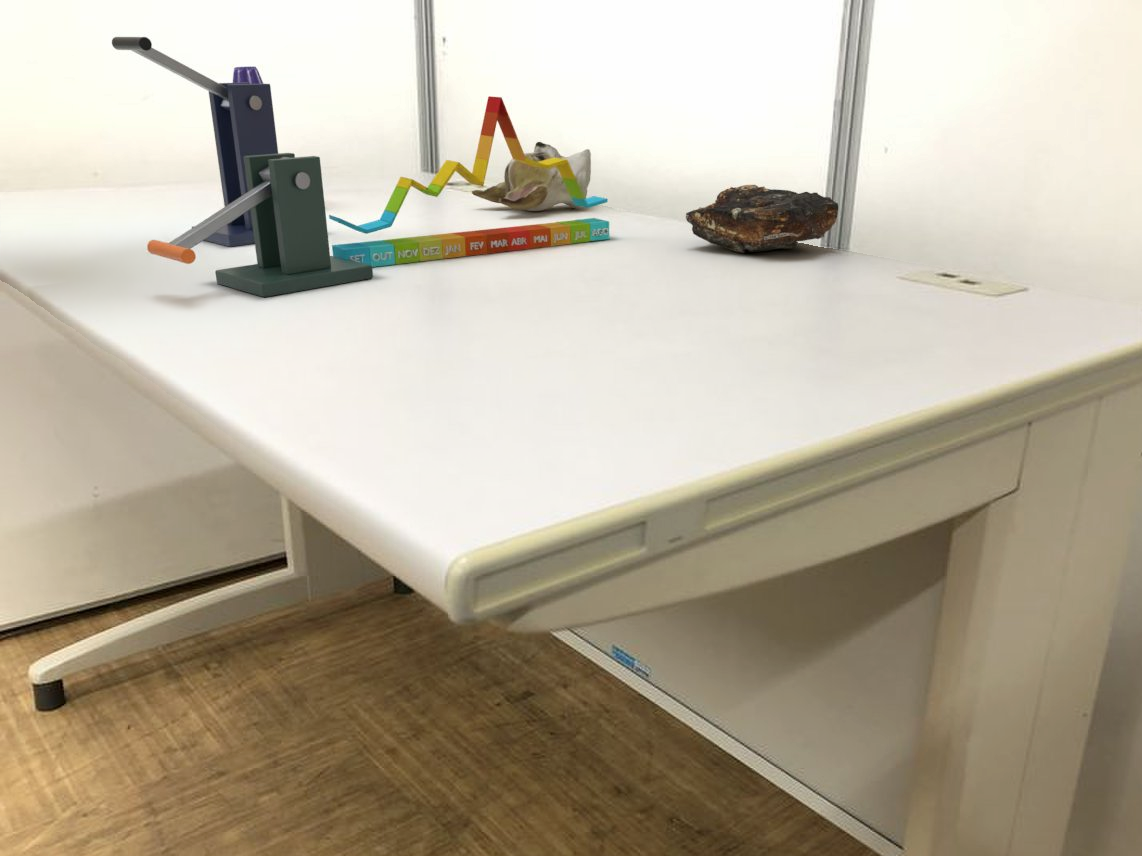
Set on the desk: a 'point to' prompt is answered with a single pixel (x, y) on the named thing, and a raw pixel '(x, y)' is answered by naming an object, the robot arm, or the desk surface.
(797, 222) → the fossil rock
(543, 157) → the ceramic sculpture
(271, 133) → the back bracket
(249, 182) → the front bracket
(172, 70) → the back lever
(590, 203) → the chart
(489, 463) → the desk surface
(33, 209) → the desk surface
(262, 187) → the front lever
